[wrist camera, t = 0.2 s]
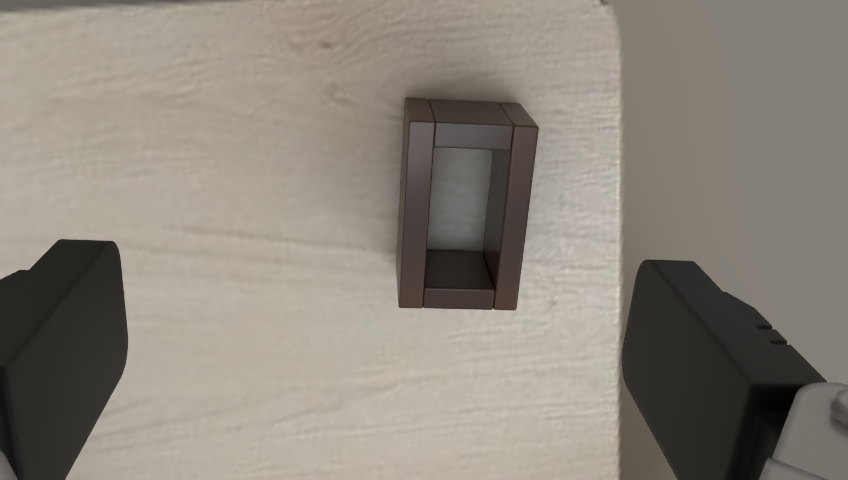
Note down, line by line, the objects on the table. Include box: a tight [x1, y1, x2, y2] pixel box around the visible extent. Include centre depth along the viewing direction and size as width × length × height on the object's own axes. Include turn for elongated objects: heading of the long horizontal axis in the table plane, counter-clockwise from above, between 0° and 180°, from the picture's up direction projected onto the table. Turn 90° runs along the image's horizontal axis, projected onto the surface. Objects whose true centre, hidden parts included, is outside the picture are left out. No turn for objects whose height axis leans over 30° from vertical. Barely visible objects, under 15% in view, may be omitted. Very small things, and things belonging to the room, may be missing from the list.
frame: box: [396, 98, 539, 310], centre depth 32 cm, size 8×5×4 cm, turn 176°
